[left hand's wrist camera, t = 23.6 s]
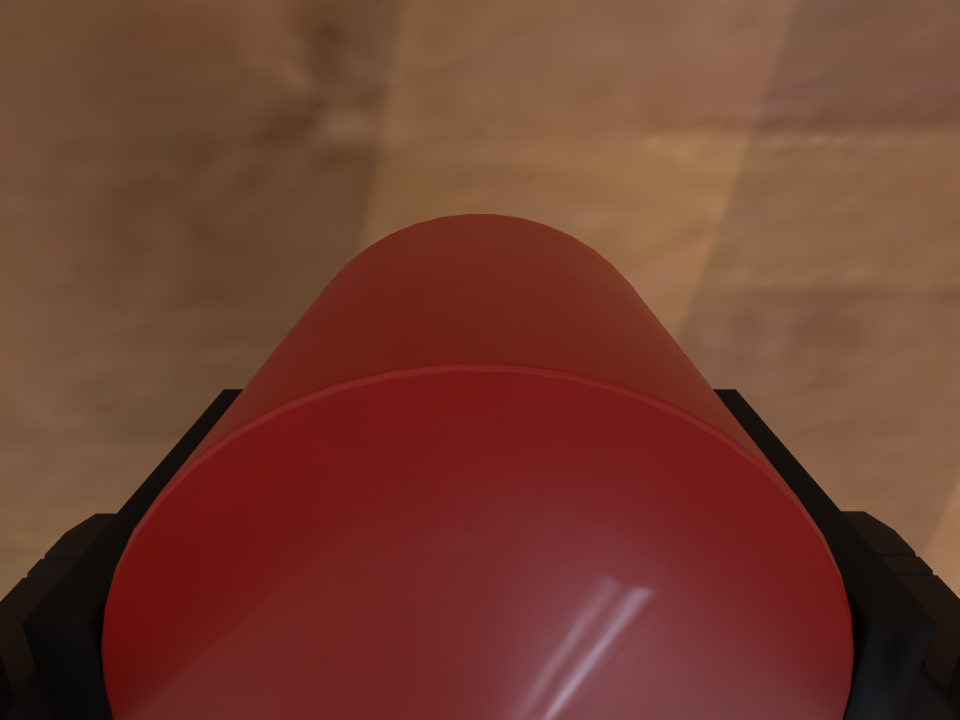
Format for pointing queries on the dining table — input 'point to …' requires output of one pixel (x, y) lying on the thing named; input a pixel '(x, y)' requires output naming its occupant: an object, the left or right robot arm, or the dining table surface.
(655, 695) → the can
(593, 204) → the dining table surface
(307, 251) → the dining table surface
